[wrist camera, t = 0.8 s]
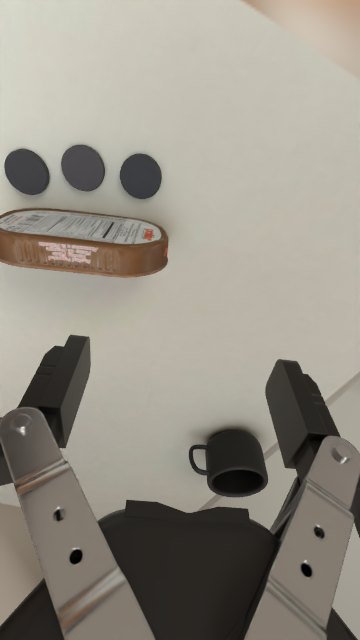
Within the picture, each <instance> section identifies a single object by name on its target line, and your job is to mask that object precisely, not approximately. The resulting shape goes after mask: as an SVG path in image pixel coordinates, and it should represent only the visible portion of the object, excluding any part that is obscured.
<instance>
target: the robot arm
mask: <svg viewBox="0 0 360 640" xmlns="http://www.w3.org/2000/svg"><path fill="white" fill-rule="evenodd" d="M90 364H91V362H90V338H89V337H86V336H78V335H70V336H69V338H68V340H67V342H66V344H65V346H64V347H62V346H54V347H53V348H52V349H51V350H49V351H48V352H47V353H46V354H45V356H44V357H43V359H42V361H41V363H40V366H39V367H38V369H37V371H36V374H35V375H34V377H33V379H32V381H31V383H30V385H29V386H28V388H27V390H26V392H25V394H24V396H23V398H22V400H21V402H20V404H19V406H18V407H17V408H16V409H14V410H12V411H10V412H9V413H7V414H6V415H5V416H4V417H3V418H2V419H1V420H0V486H1V485H5V484H9V483H14V486H15V489H16V492H17V495H18V498H19V502H20V505H21V508H22V511H23V514H24V517H25V520H26V523H27V526H28V529H29V532H30V535H31V538H32V541H33V544H34V547H35V550H36V554H37V557H38V560H39V562H40V566H41V568H42V572H43V575H44V578H43V579H42V581H41V582H40V583H39V584H38V585H37V586H36V587H35V588H34V590H33V591H32V592H31V593H30V594H29V595H28V596H27V597H26V598H25V599H24V601H23V602H22V603H21V604H20V605H19V606H18V607H17V608H16V609H15V611H14V612H13V613H12V614H11V615H10V616H9V617H8V618H7V619H6V621H5V622H4V623H3V624H2V625H1V626H0V640H358V639H357V638H356V637H355V636H354V634H353V633H352V632H351V631H350V629H349V628H348V627H347V625H346V624H345V623H344V622H343V620H342V619H341V618H340V617H339V615H338V614H337V613H336V612H335V610H334V609H333V608H332V604H333V600H334V596H335V592H336V588H337V584H338V581H339V576H340V573H341V569H342V565H343V561H344V558H345V554H346V550H347V546H348V542H349V539H350V535H351V531H352V527H353V523H355V526H356V529H357V531H358V534H359V537H360V453H359V452H358V450H357V449H356V448H355V447H354V446H353V445H352V444H351V443H350V442H348V441H347V440H345V439H343V438H341V437H340V434H339V432H338V430H337V428H336V426H335V424H334V421H333V419H332V417H331V415H330V413H329V410H328V408H327V406H326V405H325V402H324V399H323V397H321V393H320V391H319V388H318V386H317V384H316V383H315V382H314V381H313V380H312V379H311V377H310V376H309V375H308V374H303V373H302V370H301V368H300V366H299V364H298V362H297V361H290V360H282V359H279V360H277V362H276V364H275V366H274V368H273V370H272V373H271V375H270V377H269V379H268V381H267V384H266V390H265V393H266V399H267V403H268V406H269V410H270V414H271V418H272V421H273V425H274V429H275V432H276V436H277V440H278V443H279V447H280V451H281V454H282V458H283V461H284V465H285V468H292V469H296V471H297V477H296V478H295V480H294V482H293V485H292V487H291V489H290V491H289V493H288V495H287V497H286V500H285V502H284V504H283V506H282V508H281V510H280V512H279V515H278V517H277V518H276V520H275V522H274V524H273V525H272V527H271V529H270V530H268V529H267V528H265V527H264V526H262V525H261V524H259V523H257V522H256V521H254V520H251V519H249V512H248V509H242V508H230V507H215V508H211V509H206V510H202V511H198V512H193V513H186V512H183V511H180V510H177V509H174V508H172V507H169V506H166V505H164V504H161V503H158V502H148V501H135V500H127V501H126V508H125V509H122V510H118V511H115V512H113V513H110V514H108V515H106V516H105V517H103V518H101V519H100V520H98V521H97V520H96V518H95V516H94V514H93V512H92V510H91V507H90V505H89V503H88V501H87V499H86V497H85V495H84V493H83V491H82V488H81V486H80V484H79V482H78V480H77V478H76V476H75V474H74V471H73V469H72V467H71V465H70V464H69V462H68V461H65V460H64V458H63V456H62V453H61V451H60V449H59V448H66V445H67V442H68V439H69V436H70V433H71V430H72V426H73V423H74V420H75V417H76V414H77V411H78V408H79V405H80V402H81V399H82V396H83V393H84V390H85V387H86V384H87V380H88V377H89V373H90Z"/></svg>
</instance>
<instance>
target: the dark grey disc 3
mask: <svg viewBox="0 0 360 640" xmlns="http://www.w3.org/2000/svg"><path fill="white" fill-rule="evenodd" d="M120 179H121V183H122V185H123V187H124V189H125V190H126V191H127V192H128V193H129V194H130V195H131V196H133V197H135V198H139V199H145V198H149V197H151V196H153V195H154V194H155V193H156V192H157V191H158V189H159V187H160V184H161V171H160V168H159V166H158V164H157V163H156V161H155V160H154V159H153V158H151V157H150V156H148V155H145V154H135V155H132V156H130V157H129V158H128V159H127V160H126V161H125V162H124V163H123V165H122V167H121V171H120Z"/></svg>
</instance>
